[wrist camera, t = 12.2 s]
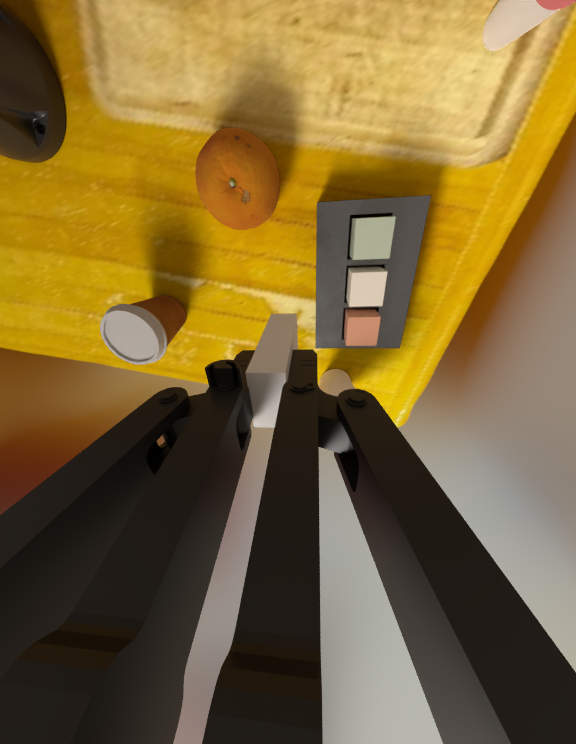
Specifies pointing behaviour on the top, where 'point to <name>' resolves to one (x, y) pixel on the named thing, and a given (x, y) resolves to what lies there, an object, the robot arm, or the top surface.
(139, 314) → the disposable coffee cup
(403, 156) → the top surface
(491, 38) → the cup
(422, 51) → the top surface
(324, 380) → the cup
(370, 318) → the key terracotta
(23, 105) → the robot arm
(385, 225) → the key sage
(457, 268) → the top surface
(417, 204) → the panel
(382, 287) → the key cream
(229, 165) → the fruit
